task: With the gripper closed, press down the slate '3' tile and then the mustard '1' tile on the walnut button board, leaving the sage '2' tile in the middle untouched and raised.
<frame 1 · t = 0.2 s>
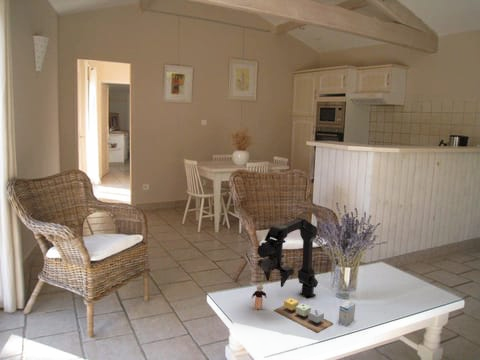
hand: (274, 283, 194), 14 cm above the table, fingers open, 9 cm apart
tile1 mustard: (291, 303, 196), point 4 cm above the table, slide at 0.0 cm
grandmother figurine: (258, 308, 199), on the table
button board: (302, 317, 191), on the table
medicine box: (346, 322, 189), on the table
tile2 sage: (303, 309, 191), point 4 cm above the table, slide at 0.0 cm
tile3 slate: (316, 315, 185), point 4 cm above the table, slide at 0.0 cm
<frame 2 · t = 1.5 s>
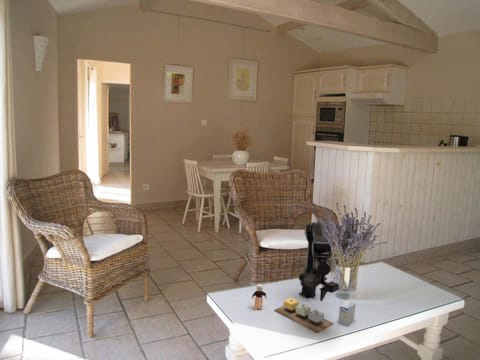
hand: (317, 299, 184), 12 cm above the table, fingers open, 4 cm apart
nothing on the table moved.
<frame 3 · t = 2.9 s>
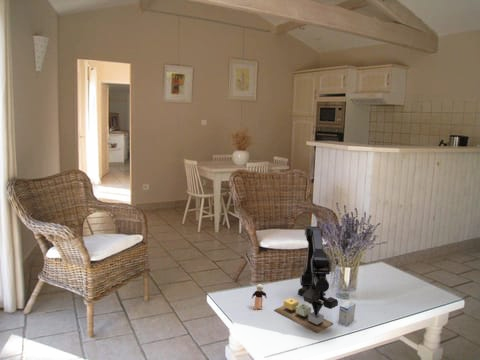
hand: (316, 314, 185), 5 cm above the table, fingers closed, pressing on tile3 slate
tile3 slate: (316, 317, 186), point 3 cm above the table, slide at 1.0 cm, touching gripper
everything else where it was.
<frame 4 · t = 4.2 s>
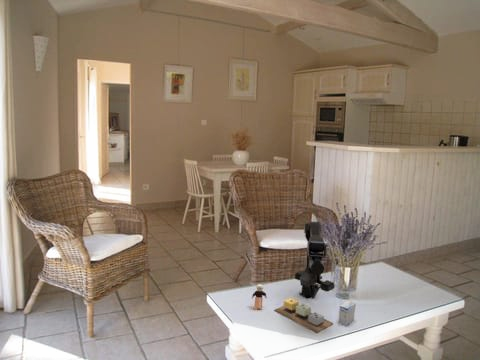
hand: (312, 297, 186), 12 cm above the table, fingers closed
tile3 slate: (315, 318, 186), point 3 cm above the table, slide at 1.4 cm
everything else where it was.
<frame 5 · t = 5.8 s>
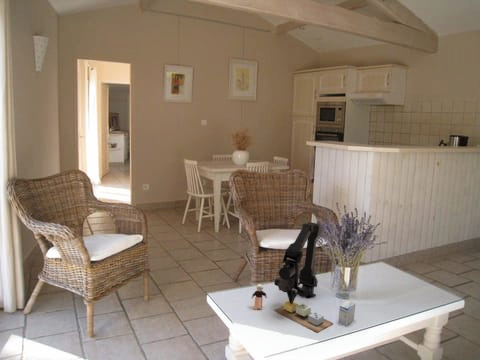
hand: (291, 303, 196), 4 cm above the table, fingers closed, pressing on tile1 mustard
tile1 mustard: (290, 306, 196), point 3 cm above the table, slide at 1.2 cm, touching gripper
everything else where it was.
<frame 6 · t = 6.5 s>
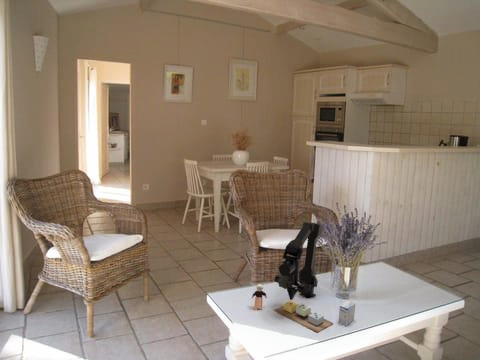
hand: (291, 299, 196), 6 cm above the table, fingers closed
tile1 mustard: (290, 306, 196), point 3 cm above the table, slide at 1.4 cm
everything else where it was.
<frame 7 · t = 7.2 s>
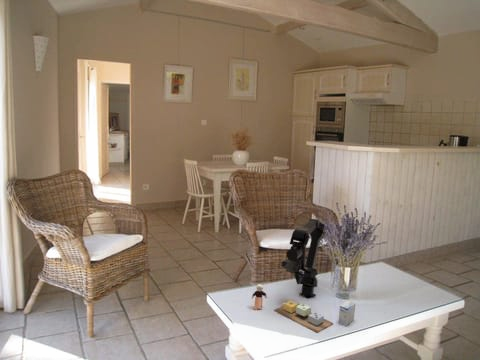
hand: (298, 284, 201), 12 cm above the table, fingers closed
nothing on the table moved.
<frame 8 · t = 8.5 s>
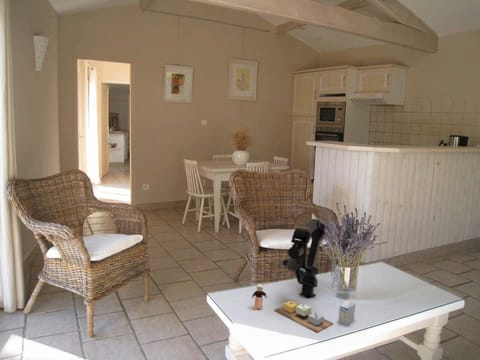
hand: (299, 282, 202), 12 cm above the table, fingers closed
nothing on the table moved.
at the end: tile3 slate slide at 1.4 cm; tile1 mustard slide at 1.4 cm; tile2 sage slide at 0.0 cm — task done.
